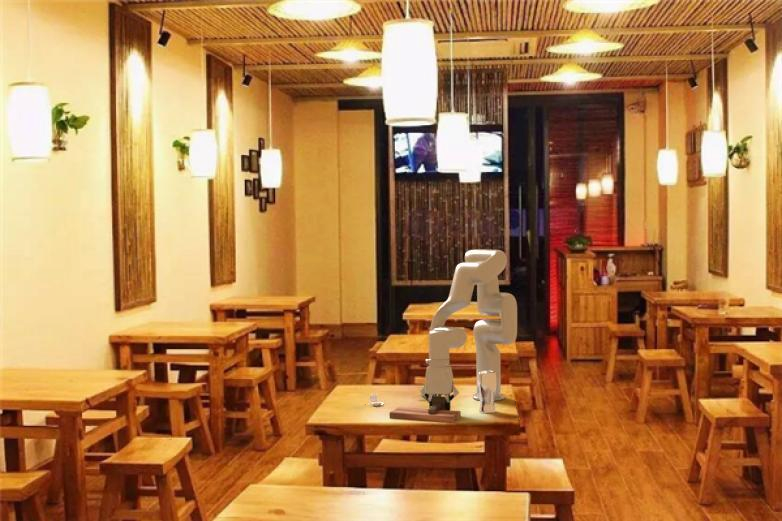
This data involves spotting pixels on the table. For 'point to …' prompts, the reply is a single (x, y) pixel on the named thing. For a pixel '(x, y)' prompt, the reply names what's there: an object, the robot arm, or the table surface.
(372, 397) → the teacup and saucer
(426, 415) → the board
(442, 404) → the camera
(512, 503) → the table surface
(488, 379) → the beer glass
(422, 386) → the edible corn
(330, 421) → the table surface
